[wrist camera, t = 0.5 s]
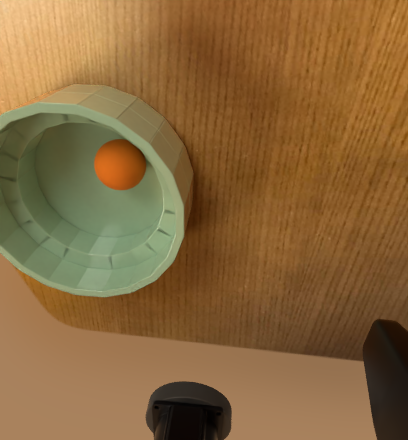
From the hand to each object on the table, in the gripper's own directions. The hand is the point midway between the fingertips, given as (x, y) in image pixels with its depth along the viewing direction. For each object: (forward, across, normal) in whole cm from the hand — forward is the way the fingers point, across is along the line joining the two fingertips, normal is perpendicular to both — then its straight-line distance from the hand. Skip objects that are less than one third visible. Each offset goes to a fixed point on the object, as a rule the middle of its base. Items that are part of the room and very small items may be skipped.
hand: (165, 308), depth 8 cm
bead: (+14, +5, +3) cm, 15 cm away
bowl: (+16, +7, +5) cm, 18 cm away
